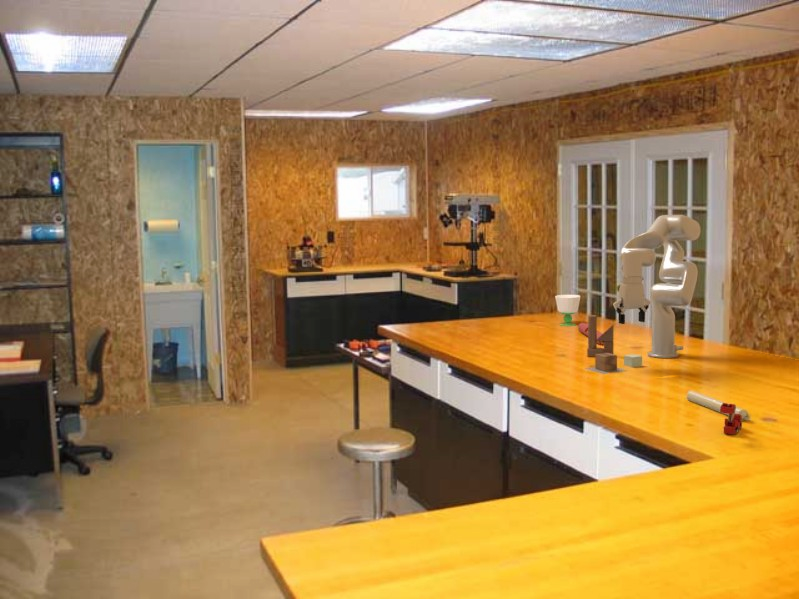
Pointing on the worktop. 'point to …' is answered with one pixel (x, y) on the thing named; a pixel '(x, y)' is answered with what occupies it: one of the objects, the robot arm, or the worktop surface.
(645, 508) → the worktop surface
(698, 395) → the paper tube
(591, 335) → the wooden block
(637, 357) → the cream cube
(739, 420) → the red clamp
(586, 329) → the artery
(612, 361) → the walnut block
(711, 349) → the worktop surface
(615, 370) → the build pad
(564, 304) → the cup
